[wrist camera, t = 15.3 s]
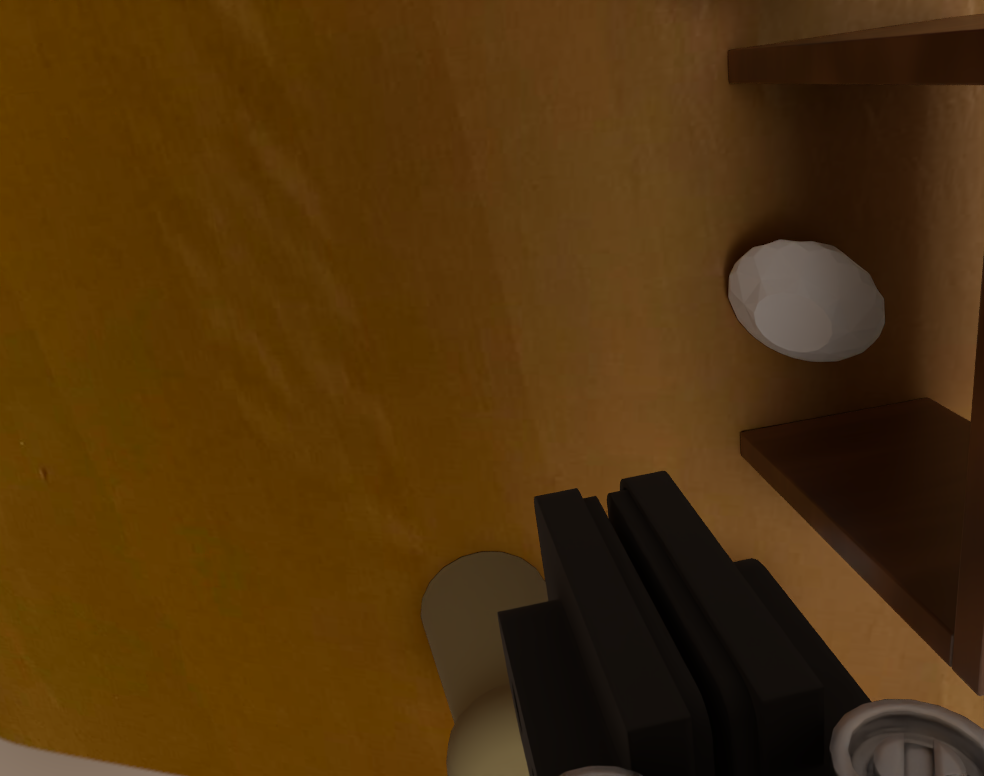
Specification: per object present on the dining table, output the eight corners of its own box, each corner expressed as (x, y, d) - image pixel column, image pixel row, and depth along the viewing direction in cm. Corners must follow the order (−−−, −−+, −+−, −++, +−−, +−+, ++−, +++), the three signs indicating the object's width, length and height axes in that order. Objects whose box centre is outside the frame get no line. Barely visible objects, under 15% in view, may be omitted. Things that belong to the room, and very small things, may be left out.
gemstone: (946, 270, 33) (911, 354, 31) (821, 320, 38) (782, 396, 36) (848, 156, 32) (804, 234, 29) (733, 224, 37) (686, 295, 35)
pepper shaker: (494, 526, 37) (541, 694, 27) (575, 608, 40) (646, 792, 29) (393, 607, 38) (401, 801, 28) (477, 683, 40) (513, 889, 30)
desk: (727, 50, 32) (1040, 23, 17) (949, 17, 32) (1439, -37, 18) (740, 455, 38) (978, 697, 23) (926, 420, 39) (1275, 633, 24)
